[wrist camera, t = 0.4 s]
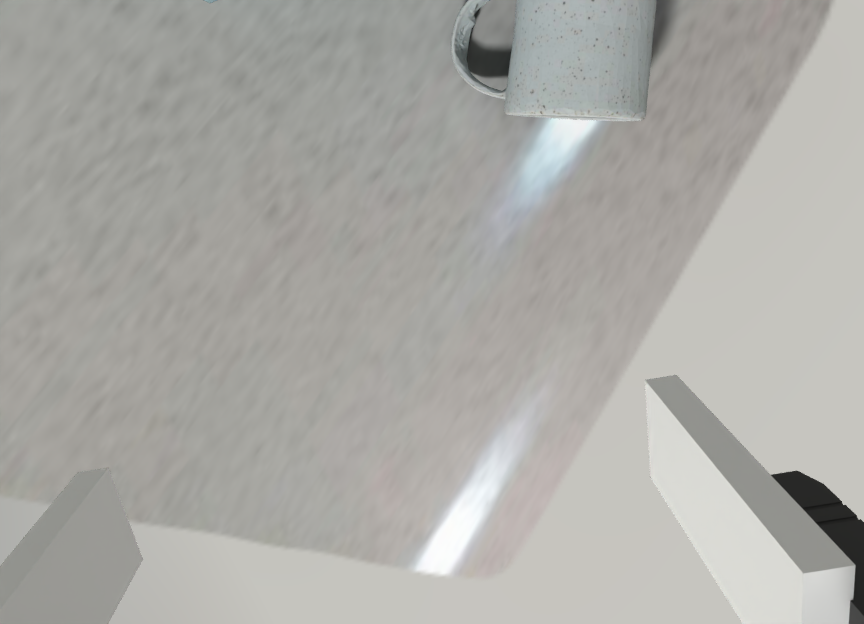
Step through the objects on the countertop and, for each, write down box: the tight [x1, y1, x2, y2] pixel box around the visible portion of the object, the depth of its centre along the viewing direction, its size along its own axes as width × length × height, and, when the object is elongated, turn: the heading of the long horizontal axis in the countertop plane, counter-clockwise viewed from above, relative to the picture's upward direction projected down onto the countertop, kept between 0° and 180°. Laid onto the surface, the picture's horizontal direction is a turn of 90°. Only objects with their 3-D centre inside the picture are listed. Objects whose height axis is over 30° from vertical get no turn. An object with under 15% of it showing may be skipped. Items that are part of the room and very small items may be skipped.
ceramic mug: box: [451, 0, 657, 121], centre depth 36 cm, size 11×8×8 cm
